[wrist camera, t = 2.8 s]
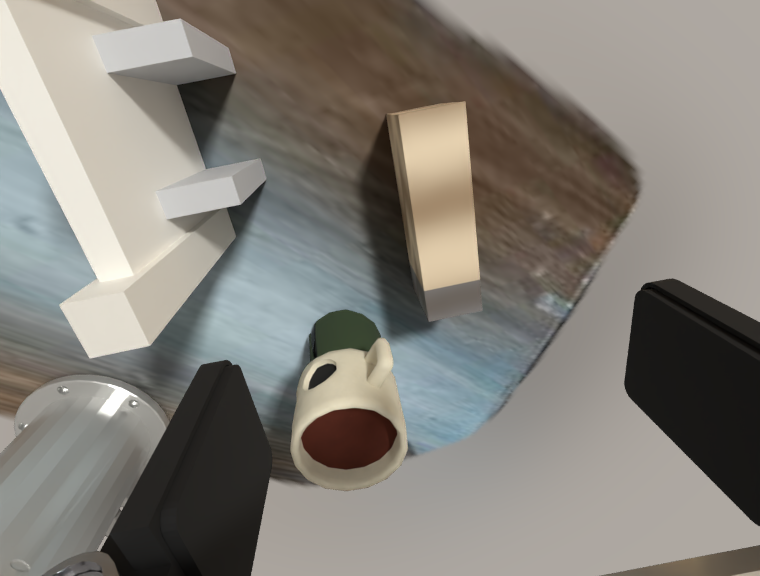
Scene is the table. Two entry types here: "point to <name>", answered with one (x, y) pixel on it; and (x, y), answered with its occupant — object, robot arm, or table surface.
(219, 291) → the table surface
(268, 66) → the table surface
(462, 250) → the beige block
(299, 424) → the character mug
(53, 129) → the white stand
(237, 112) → the table surface
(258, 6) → the table surface
